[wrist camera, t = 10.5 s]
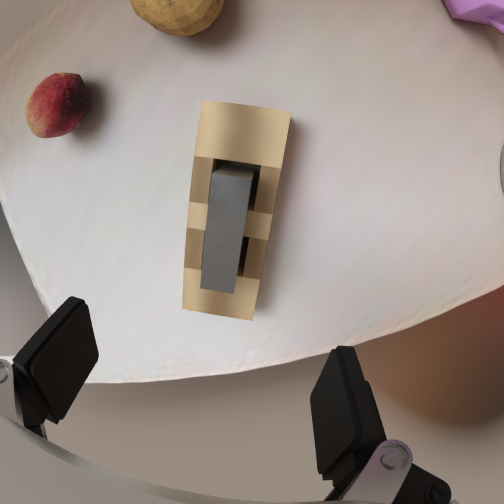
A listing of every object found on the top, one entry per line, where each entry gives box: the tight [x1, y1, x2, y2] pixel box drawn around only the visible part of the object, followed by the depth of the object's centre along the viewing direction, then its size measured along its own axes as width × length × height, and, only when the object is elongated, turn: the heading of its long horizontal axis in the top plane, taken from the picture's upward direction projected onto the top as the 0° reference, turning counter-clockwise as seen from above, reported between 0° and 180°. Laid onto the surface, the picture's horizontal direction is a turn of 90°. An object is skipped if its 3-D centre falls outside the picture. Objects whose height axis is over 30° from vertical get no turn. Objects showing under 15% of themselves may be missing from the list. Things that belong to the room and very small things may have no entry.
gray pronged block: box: [200, 164, 255, 294], centre depth 26 cm, size 10×3×8 cm, turn 171°
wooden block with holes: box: [182, 100, 291, 320], centre depth 29 cm, size 8×22×4 cm, turn 171°
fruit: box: [25, 73, 92, 138], centre depth 22 cm, size 8×8×8 cm
